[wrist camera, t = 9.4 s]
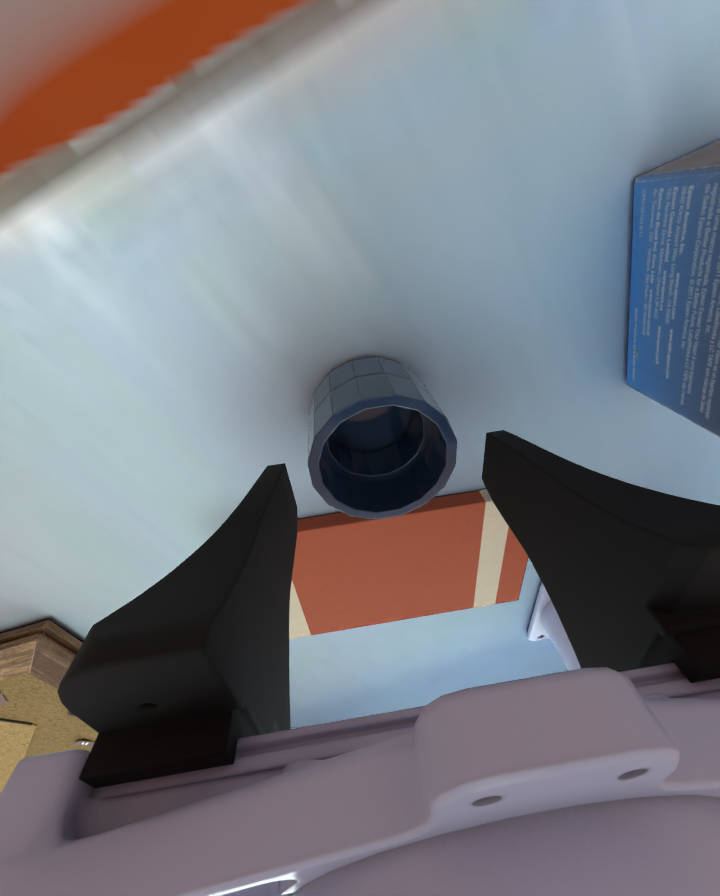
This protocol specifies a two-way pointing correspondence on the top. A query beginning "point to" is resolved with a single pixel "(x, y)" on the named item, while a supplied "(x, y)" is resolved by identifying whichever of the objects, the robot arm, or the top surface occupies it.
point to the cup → (377, 440)
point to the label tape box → (678, 287)
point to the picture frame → (36, 696)
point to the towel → (403, 565)
